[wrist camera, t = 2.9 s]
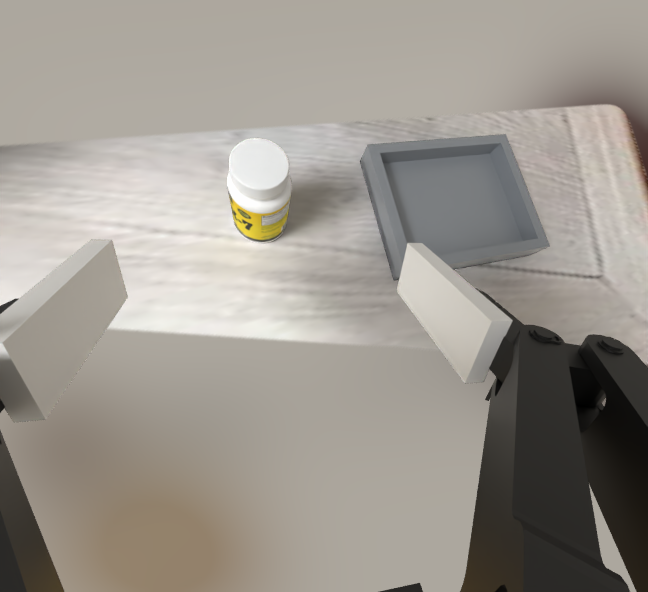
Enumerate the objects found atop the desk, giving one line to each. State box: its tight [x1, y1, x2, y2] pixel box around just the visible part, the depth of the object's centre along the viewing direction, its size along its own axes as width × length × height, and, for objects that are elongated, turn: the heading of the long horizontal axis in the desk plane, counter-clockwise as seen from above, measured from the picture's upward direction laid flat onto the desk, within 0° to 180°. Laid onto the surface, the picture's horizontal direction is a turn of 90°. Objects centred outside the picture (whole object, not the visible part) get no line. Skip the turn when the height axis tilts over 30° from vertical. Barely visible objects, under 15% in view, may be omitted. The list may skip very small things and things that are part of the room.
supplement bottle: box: [227, 138, 292, 243], centre depth 25 cm, size 5×5×8 cm
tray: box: [360, 134, 550, 280], centre depth 32 cm, size 16×13×2 cm
